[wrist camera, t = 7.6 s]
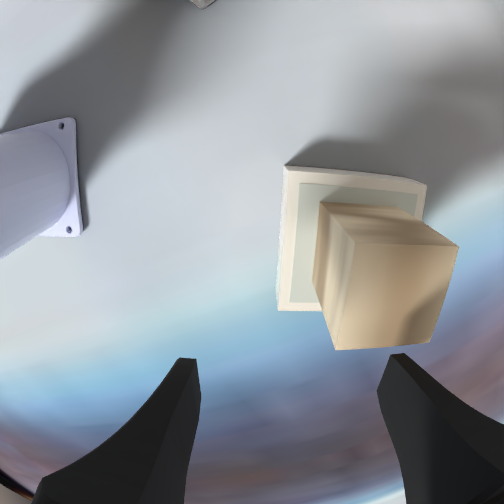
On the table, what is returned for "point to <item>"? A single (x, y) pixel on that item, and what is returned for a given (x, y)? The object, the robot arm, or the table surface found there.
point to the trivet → (306, 220)
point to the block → (379, 275)
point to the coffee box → (202, 3)
